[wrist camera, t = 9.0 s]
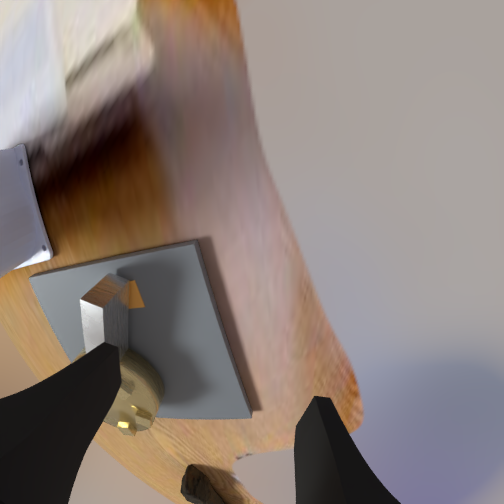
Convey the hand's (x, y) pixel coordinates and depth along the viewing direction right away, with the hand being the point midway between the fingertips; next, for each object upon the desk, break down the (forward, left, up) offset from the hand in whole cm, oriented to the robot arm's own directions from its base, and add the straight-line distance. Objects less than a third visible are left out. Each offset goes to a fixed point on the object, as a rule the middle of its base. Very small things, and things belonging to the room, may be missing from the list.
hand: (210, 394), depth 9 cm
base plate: (+5, -10, -9) cm, 15 cm away
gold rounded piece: (+4, -11, -8) cm, 14 cm away
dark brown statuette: (+34, -13, -10) cm, 38 cm away
